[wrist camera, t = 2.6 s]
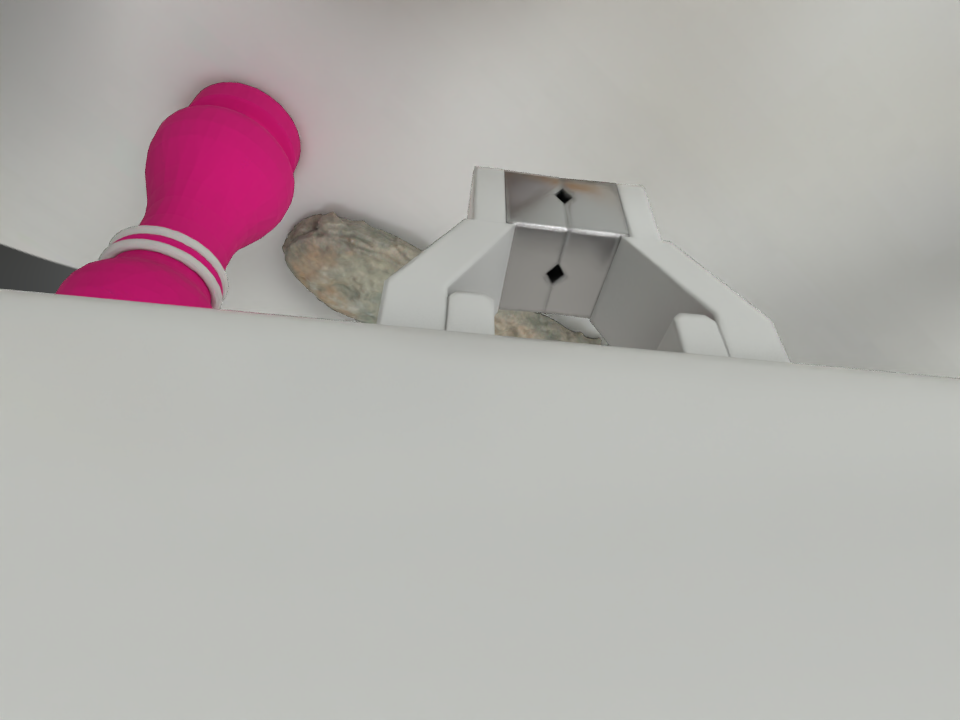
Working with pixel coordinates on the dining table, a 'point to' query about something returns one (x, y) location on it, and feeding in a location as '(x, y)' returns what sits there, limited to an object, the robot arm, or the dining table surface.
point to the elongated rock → (380, 274)
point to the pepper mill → (200, 201)
